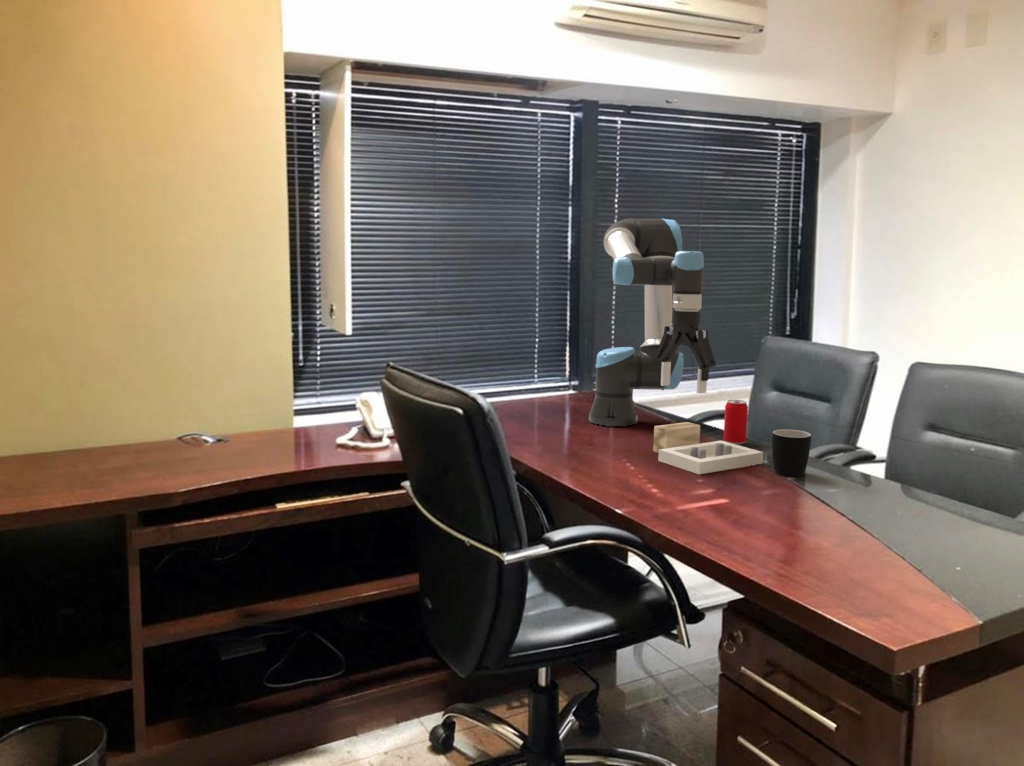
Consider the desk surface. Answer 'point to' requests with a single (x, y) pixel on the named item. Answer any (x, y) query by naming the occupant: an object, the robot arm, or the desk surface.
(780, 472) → the mug
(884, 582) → the desk surface
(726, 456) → the peg frame
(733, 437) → the beverage can
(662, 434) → the wooden block
